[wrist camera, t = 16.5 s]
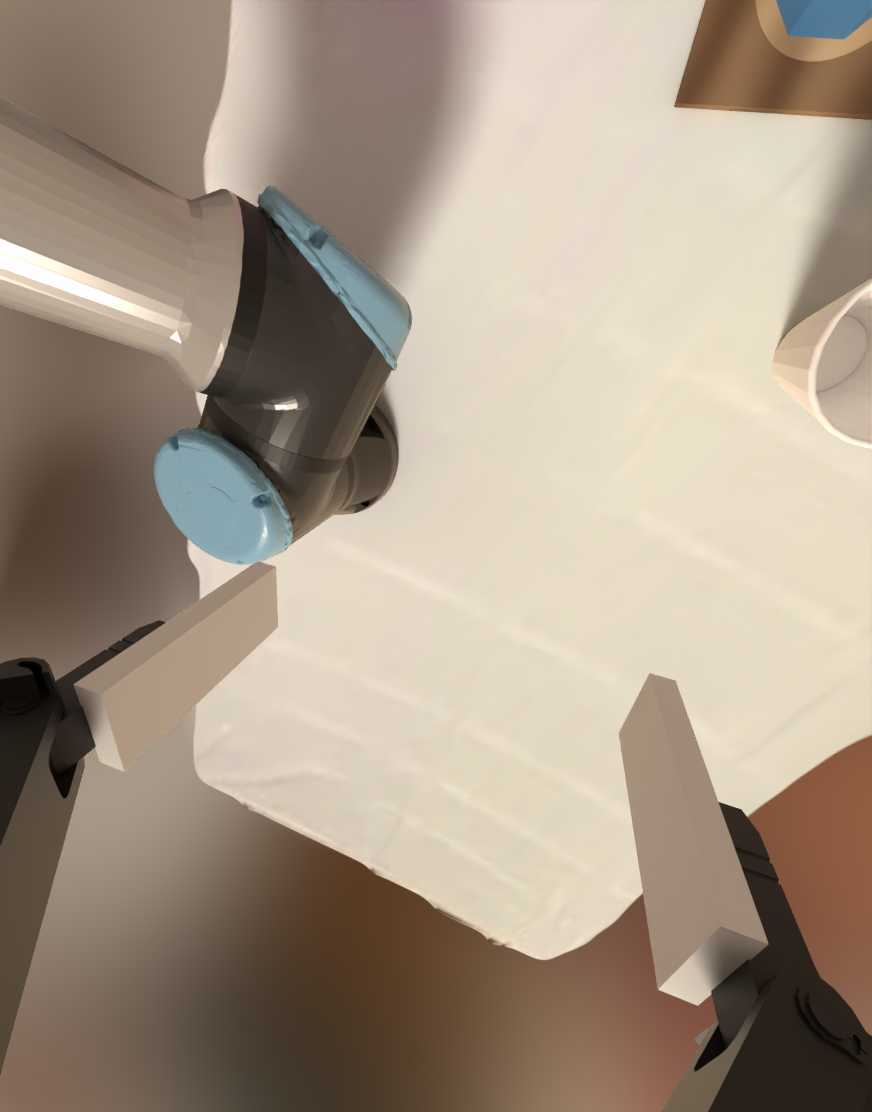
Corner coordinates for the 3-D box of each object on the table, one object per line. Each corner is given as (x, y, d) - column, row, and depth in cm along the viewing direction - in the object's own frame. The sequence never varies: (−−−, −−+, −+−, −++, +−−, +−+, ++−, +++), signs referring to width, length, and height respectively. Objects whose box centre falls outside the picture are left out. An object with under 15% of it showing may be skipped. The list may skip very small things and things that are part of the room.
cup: (727, 319, 37) (795, 303, 26) (902, 242, 33) (1071, 184, 22) (752, 444, 41) (822, 475, 30) (914, 391, 36) (1066, 405, 25)
